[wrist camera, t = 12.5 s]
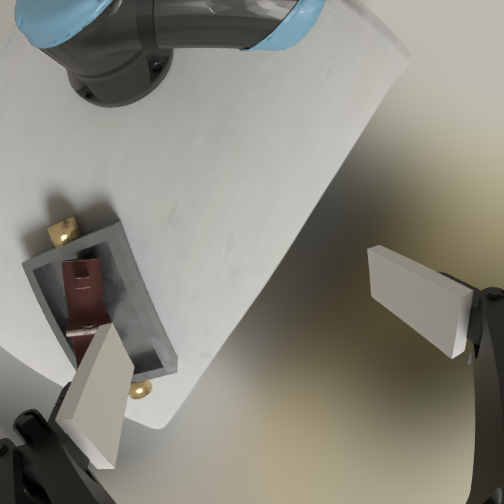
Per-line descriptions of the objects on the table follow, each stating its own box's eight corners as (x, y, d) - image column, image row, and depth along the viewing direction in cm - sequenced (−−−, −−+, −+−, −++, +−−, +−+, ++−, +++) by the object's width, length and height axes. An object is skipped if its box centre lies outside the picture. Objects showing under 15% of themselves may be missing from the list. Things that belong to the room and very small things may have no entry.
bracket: (79, 368, 39) (81, 397, 30) (61, 259, 38) (56, 263, 29) (115, 363, 42) (125, 390, 33) (100, 256, 41) (105, 259, 32)
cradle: (27, 237, 36) (12, 244, 32) (113, 199, 38) (104, 203, 33) (103, 390, 45) (98, 406, 40) (184, 371, 46) (184, 388, 42)
